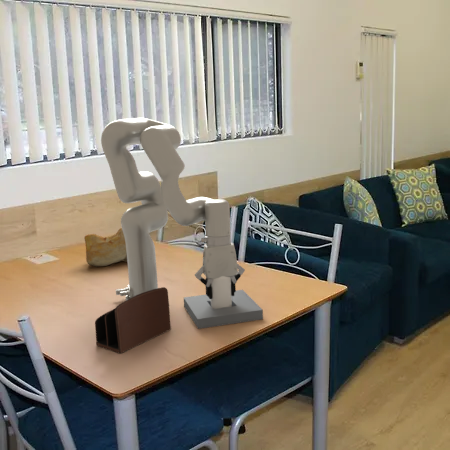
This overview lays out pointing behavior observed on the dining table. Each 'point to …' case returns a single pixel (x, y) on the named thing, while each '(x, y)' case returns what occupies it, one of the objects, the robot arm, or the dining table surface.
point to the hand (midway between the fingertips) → (221, 295)
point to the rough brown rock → (105, 249)
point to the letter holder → (134, 321)
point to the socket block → (222, 310)
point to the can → (221, 292)
